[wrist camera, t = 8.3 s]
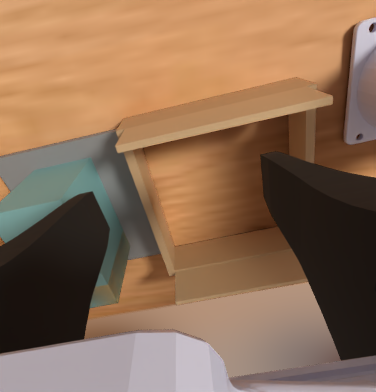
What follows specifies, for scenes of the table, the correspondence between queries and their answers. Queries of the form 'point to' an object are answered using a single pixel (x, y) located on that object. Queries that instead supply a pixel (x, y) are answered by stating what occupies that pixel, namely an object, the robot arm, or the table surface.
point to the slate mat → (109, 174)
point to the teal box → (53, 198)
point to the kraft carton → (236, 244)
